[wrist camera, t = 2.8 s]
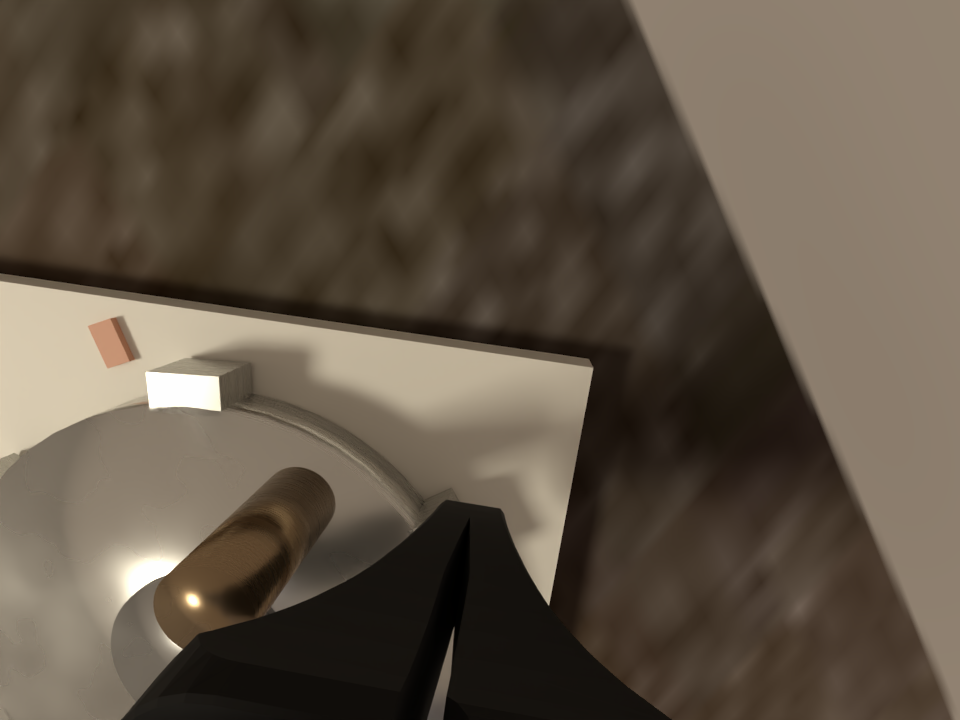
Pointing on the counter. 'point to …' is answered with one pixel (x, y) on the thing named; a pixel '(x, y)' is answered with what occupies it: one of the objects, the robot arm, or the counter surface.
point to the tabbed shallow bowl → (179, 534)
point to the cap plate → (316, 391)
